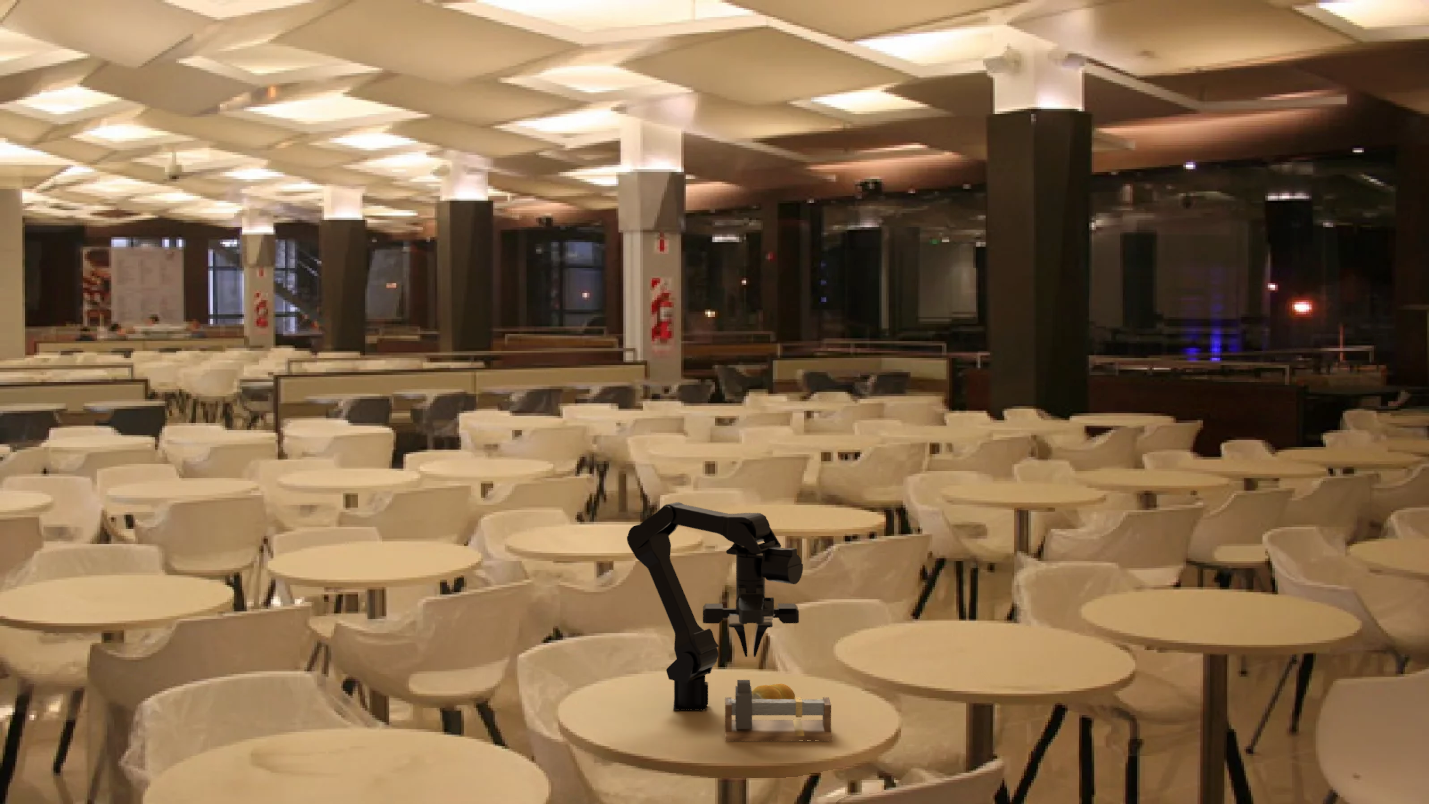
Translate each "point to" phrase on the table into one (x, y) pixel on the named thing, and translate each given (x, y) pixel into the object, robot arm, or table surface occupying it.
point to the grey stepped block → (743, 705)
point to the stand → (780, 728)
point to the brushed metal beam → (784, 706)
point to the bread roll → (773, 692)
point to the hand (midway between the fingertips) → (750, 656)
